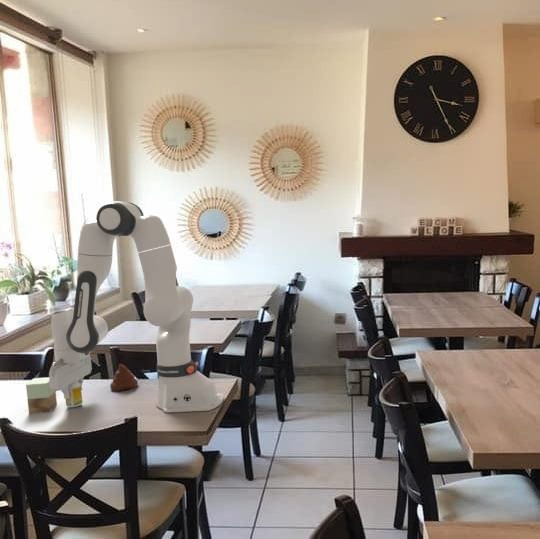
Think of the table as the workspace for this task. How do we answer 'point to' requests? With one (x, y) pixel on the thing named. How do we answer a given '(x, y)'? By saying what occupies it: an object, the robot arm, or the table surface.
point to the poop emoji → (123, 379)
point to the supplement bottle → (74, 394)
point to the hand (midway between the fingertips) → (73, 394)
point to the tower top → (39, 388)
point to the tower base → (42, 404)
